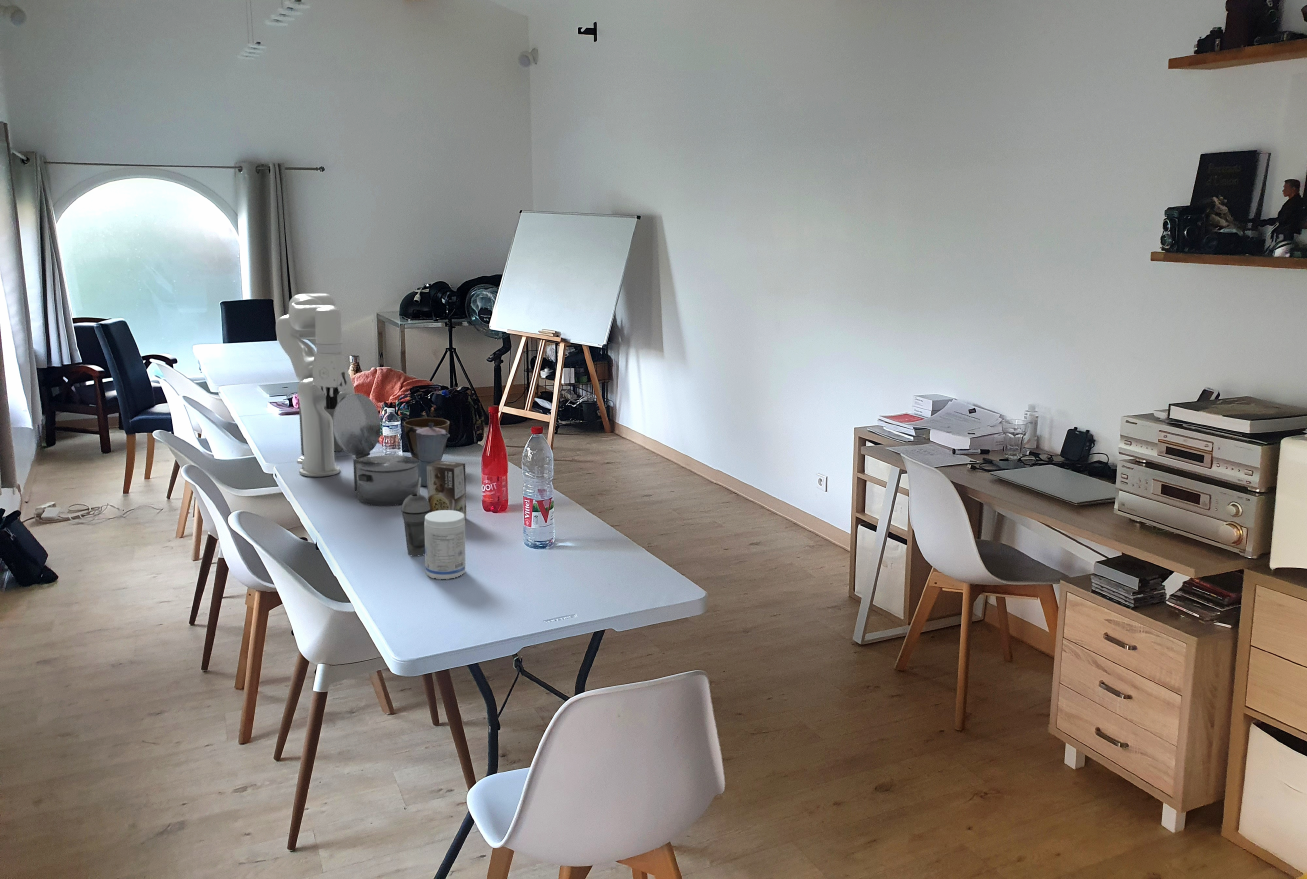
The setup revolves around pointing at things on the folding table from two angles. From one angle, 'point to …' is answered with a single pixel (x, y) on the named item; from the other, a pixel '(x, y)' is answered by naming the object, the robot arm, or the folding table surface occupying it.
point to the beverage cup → (415, 521)
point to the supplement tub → (444, 544)
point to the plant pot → (424, 424)
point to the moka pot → (427, 447)
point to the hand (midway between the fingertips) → (332, 408)
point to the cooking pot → (385, 479)
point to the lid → (356, 425)
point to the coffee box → (446, 486)
